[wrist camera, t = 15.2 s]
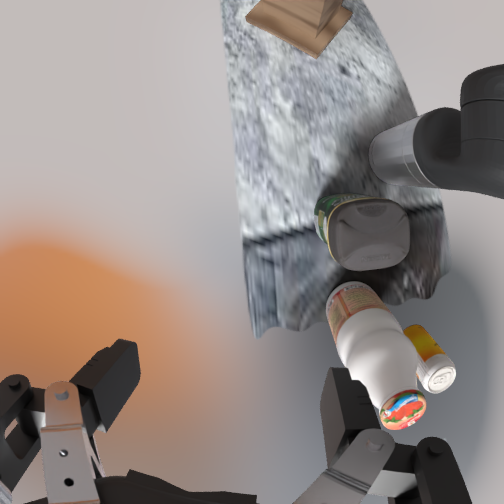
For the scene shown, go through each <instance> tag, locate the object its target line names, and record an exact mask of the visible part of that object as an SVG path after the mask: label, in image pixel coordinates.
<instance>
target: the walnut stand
mask: <svg viewBox="0 0 504 504" xmlns="http://www.w3.org/2000/svg"><path fill="white" fill-rule="evenodd" d="M342 1H343V0H261V1H260V2H259V3H258V4H257V5H256V6H255V7H254V8H253V9H252V10H251V11H250V12H249V13H248V14H247V15H246V16H245V17H246V21H247V22H248V23H250V24H252V25H254V26H257V27H259V28H261V29H263V30H265V31H267V32H269V33H271V34H273V35H275V36H276V37H278V38H280V39H282V40H284V41H286V42H288V43H289V44H291V45H293V46H295V47H297V48H298V49H300V50H302V51H304V52H305V53H307V54H309V55H310V56H312V57H314V58H315V59H317V58H318V57H319V55H320V54H321V53H322V52H323V50H324V49H325V48H326V47H327V45H328V44H329V43H330V42H331V41H332V39H333V38H334V37H335V36H336V35H337V33H338V32H339V31H340V30H341V29H342V27H343V26H344V25H345V24H346V23H347V22H348V20H349V19H350V18H351V16H352V14H353V13H352V12H350V11H349V10H347V9H345V8H344V7H342V6H341V4H342Z"/></svg>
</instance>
